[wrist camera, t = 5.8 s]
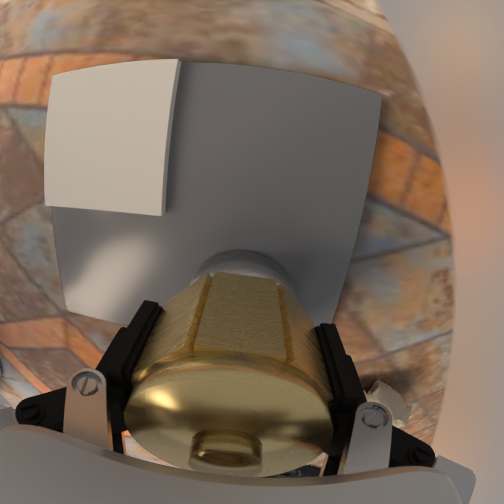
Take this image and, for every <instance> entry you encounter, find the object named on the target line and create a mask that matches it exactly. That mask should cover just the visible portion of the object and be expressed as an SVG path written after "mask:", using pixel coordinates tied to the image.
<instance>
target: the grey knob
mask: <svg viewBox="0 0 504 504" xmlns="http://www.w3.org/2000/svg"><path fill="white" fill-rule="evenodd" d="M215 271H219V272H226V273H233V274H240V275H248V276H255V277H263V278H270V279H276V282H277V286H278V285H279V284H281V283H283V284H284V285H285V287H286V288H287V289H288V290H289V292H290V293H291V294H292V296H293V297H294V298H295V299H296V301H297V297H296V293H295V288H294V285H293V282H292V280H291V278H290V276H289V274H288V273H287V271H286V270H285V269H284V268H283V267H282V265H280V264H279V263H278V262H277V261H275V260H274V259H272V258H271V257H269V256H267V255H265V254H262V253H259V252H256V251H251V250H241V249H240V250H230V251H225V252H222V253H218V254H216V255H214V256H212V257H211V258H209V259H207V260H206V261H205V262H204V263H202V264H201V265H200V266H199V268H198V269H197V270H196V272H195V273H194V275H193V277H192V279H191V281H190V284H189V285H191V284H192V283H194V282H195V281H196V280H198V279H199V278H201V277H202V276H204V275H205V274H206V273H209V274H210V275H211V277H212V278H213V276H214V272H215ZM297 302H298V301H297Z"/></svg>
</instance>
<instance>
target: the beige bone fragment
mask: <svg viewBox="0 0 504 504" xmlns="http://www.w3.org/2000/svg"><path fill="white" fill-rule="evenodd" d="M394 389H395V388H394ZM363 391H364V390H363ZM364 393H365V396H366V399H367V402H370V401H371V402H377V403H380V404H382V405H384V406H385V407H387V409H388V410H389V411H390V413H391V415H392V425H393V426H395V427H397V428H400V427H403V426H405V425H406V423H407V419H408V418H409V416H410V414H411V412H412V411H411V407H412V406H406V405H405V404H404V403H403V402H404V401H403V399H402V398H401V394H399V393H397V392H396V390H392V388H391V387H390V386H389V385H387V384H385V383H383V382H382V381H379V380H376V381H375V382H374V384H373V386H372V387H371V388H370V390H369V391H368V393H366V392H365V391H364ZM325 455H326V453H324V452H323V453H322V454H321V455H319V456H318V457H317V458H316V459H314V460H313V461H311V462H309V463H307V464H305V465H309V464H315V463H317V462H319V461H322V460H323V459H325ZM303 466H304V465H303Z"/></svg>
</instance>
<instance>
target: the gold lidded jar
mask: <svg viewBox="0 0 504 504" xmlns="http://www.w3.org/2000/svg"><path fill="white" fill-rule="evenodd" d="M131 384H132V388H133V390H132V392H131V395H130V397H129V400H128V402H127V405H126V408H125V411H124V420H125V424H126V427H127V429H128V431H129V432H130V434H131V435H132V437H133V438H134V439H135V440H136V441H137V442H138V443H139V444H140V445H141V446H142V447H143V448H144V449H146V450H147V451H148V452H150V453H151V454H153V455H154V456H156V457H158V458H159V459H161V460H163V461H165V462H167V463H169V464H172V465H174V466H176V467H179V468H182V469H185V470H191V471H197V472H204V473H211V474H220V475H229V476H241V477H266V476H272V475H277V474H281V473H285V472H288V471H291V470H294V469H297V468H299V467H301V466H303V465H305V464H307V463H309V462H311V461H313V460H314V459H316V458H317V457H318V456H319V455H321V454H322V453H323V452H324V451H325V450H326V449H327V447H328V446H329V444H330V443H331V440H332V438H333V431H334V429H333V425H332V420H331V416H330V411H329V409H330V408H331V406H332V400H333V399H334V398H333V394H332V390H331V386H330V382H329V378H328V374H327V371H326V367H325V363H324V360H323V356H322V352H321V349H320V345H319V341H318V338H317V334H316V331H315V327H314V324H313V321H312V320H311V318H310V317H309V316H308V314H307V313H306V312H305V311H304V309H303V308H302V307H301V306H300V304H299V303H298V302H297V301H296V299H295V298H294V297H293V296H292V294H291V293H290V292H289V290H288V289H287V288H286V287H285V285H284V284H283V283H281V284H279V285H278V286H277V282H276V279H270V278H263V277H255V276H248V275H240V274H233V273H226V272H219V271H215V272H214V276H213V278H212V277H211V275H210V274H209V273H206V274H205V275H204V276H202V277H201V278H199V279H198V280H196V281H195V282H194V283H192V284H191V285H189V286H188V287H187V288H185V289H184V290H182V291H181V292H180V293H178V294H177V295H175V296H174V297H172V298H171V299H170V300H168V301H167V302H166V303H165V305H164V307H163V309H162V311H161V313H160V315H159V317H158V319H157V322H156V324H155V326H154V328H153V330H152V332H151V334H150V336H149V338H148V340H147V342H146V344H145V347H144V349H143V351H142V353H141V355H140V357H139V359H138V362H137V364H136V366H135V368H134V370H133V373H132V378H131Z"/></svg>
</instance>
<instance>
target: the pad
mask: <svg viewBox="0 0 504 504" xmlns="http://www.w3.org/2000/svg"><path fill="white" fill-rule="evenodd" d="M180 68H181V61H180V60H179V59H159V60H143V61H132V62H122V63H114V64H107V65H100V66H94V67H89V68H83V69H78V70H73V71H69V72H64V73H60V74H56V75H53V77H52V83H51V89H50V95H49V103H48V111H47V120H46V132H45V151H44V191H45V206H57V207H69V208H81V209H93V210H104V211H114V212H125V213H135V214H145V215H154V216H162V215H163V214H164V213H165V207H166V189H167V174H168V161H169V150H170V140H171V131H172V122H173V114H174V107H175V99H176V93H177V86H178V80H179V74H180Z"/></svg>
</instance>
